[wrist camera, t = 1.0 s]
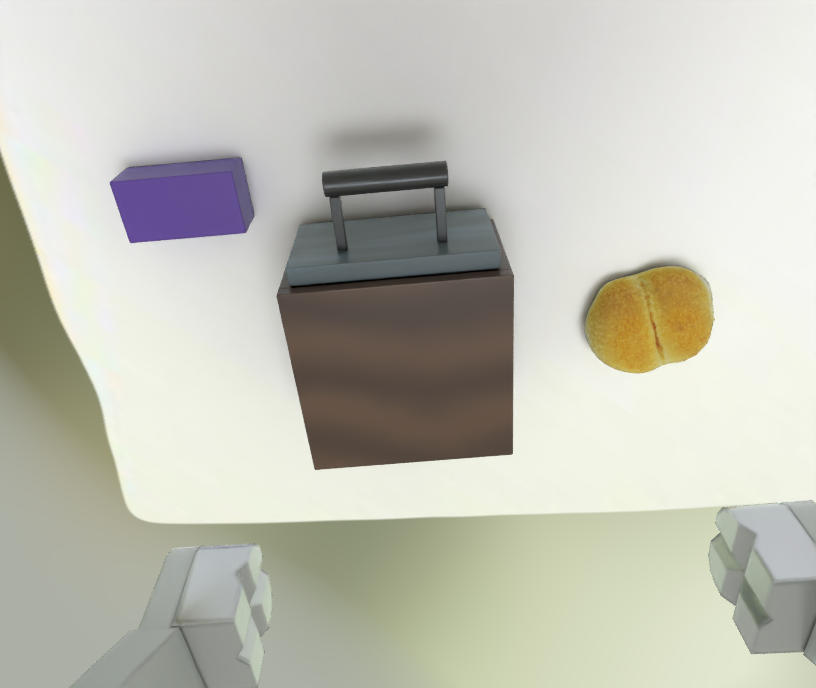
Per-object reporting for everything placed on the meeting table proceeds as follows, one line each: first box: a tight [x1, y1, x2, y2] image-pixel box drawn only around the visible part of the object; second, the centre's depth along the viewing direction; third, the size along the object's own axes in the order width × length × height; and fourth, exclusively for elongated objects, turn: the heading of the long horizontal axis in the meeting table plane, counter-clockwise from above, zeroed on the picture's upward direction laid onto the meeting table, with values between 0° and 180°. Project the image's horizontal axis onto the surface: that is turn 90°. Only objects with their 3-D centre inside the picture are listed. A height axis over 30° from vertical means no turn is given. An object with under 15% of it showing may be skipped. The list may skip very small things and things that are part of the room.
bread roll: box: [584, 266, 715, 373], centre depth 46 cm, size 8×9×4 cm
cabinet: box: [277, 220, 514, 470], centre depth 44 cm, size 14×14×9 cm
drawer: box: [285, 161, 501, 287], centre depth 41 cm, size 17×12×7 cm
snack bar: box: [110, 158, 254, 243], centre depth 41 cm, size 4×8×3 cm, turn 95°
